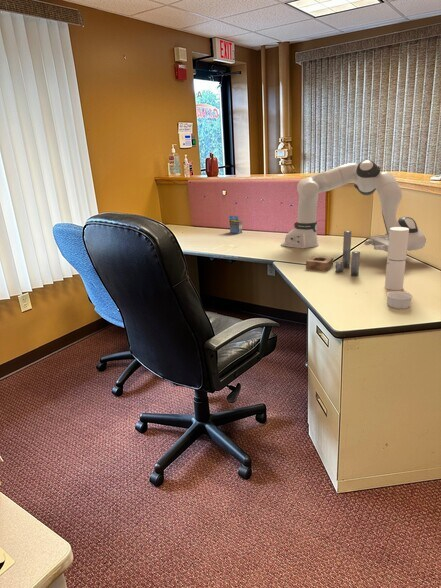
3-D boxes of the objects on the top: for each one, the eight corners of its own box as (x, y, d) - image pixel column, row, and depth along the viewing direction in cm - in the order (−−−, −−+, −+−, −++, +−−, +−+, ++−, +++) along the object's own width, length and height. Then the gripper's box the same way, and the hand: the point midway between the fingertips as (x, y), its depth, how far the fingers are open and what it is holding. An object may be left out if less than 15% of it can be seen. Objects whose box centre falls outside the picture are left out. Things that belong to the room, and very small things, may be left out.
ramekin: (385, 308, 155) (386, 297, 153) (385, 300, 162) (386, 290, 161) (411, 310, 152) (413, 299, 150) (410, 302, 159) (411, 291, 158)
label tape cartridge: (242, 232, 297) (241, 215, 293) (239, 233, 295) (238, 216, 290) (233, 231, 303) (232, 214, 299) (229, 232, 300) (228, 215, 296)
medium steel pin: (349, 275, 193) (351, 252, 189) (351, 273, 196) (353, 250, 192) (357, 276, 191) (358, 253, 188) (359, 274, 194) (360, 251, 190)
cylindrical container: (394, 291, 171) (400, 231, 162) (380, 286, 177) (385, 228, 168) (406, 287, 174) (413, 228, 165) (392, 283, 180) (398, 226, 171)
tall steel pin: (341, 267, 205) (343, 231, 199) (343, 266, 208) (345, 230, 202) (348, 268, 204) (350, 232, 197) (350, 266, 206) (352, 230, 200)
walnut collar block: (306, 268, 207) (306, 260, 206) (313, 263, 215) (313, 255, 214) (326, 270, 202) (327, 263, 200) (333, 265, 210) (333, 257, 209)
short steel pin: (334, 272, 199) (335, 263, 198) (336, 270, 202) (337, 261, 201) (341, 272, 198) (342, 263, 196) (343, 270, 201) (344, 262, 199)
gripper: (407, 254, 197) (380, 257, 195) (384, 244, 216) (359, 246, 214) (408, 241, 195) (381, 244, 193) (385, 232, 214) (360, 234, 212)
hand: (369, 245), depth 204 cm, fingers open, 8 cm apart
